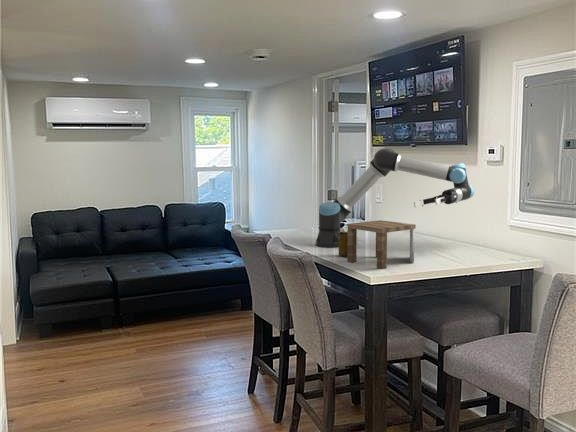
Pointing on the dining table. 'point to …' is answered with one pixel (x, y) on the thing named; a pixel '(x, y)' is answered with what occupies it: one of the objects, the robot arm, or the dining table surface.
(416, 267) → the dining table surface
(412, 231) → the pale teal panel
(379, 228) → the step stool
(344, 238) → the condiment
